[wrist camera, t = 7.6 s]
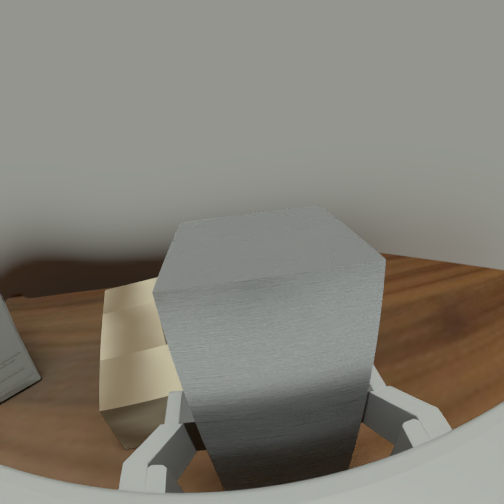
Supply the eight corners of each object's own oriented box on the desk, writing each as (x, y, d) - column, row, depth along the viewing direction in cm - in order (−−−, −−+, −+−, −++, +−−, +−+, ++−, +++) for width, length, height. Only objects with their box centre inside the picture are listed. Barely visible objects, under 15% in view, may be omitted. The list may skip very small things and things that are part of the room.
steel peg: (315, 452, 15) (319, 205, 10) (333, 515, 11) (385, 259, 6) (238, 464, 15) (179, 222, 10) (245, 529, 11) (152, 292, 5)
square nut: (260, 286, 35) (257, 252, 33) (347, 375, 21) (352, 331, 19) (117, 324, 30) (105, 290, 28) (125, 449, 16) (99, 411, 14)
